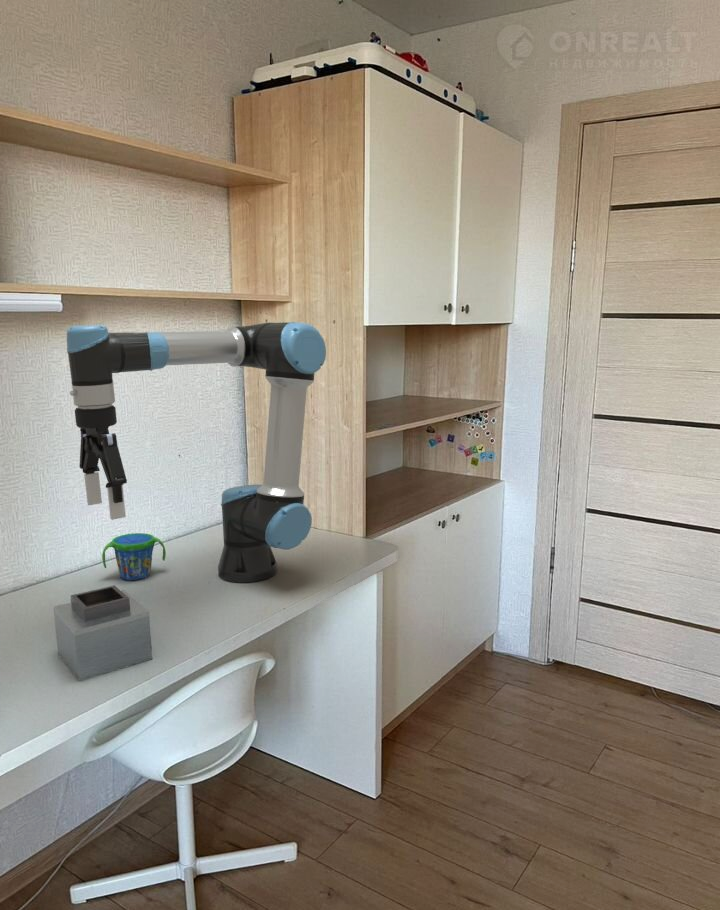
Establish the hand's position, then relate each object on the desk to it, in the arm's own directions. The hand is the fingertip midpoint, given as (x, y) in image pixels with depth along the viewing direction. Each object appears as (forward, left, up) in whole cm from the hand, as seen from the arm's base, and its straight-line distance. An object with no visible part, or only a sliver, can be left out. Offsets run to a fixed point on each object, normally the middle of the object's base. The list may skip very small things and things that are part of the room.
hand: (106, 511), depth 143 cm
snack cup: (-17, -34, -28) cm, 47 cm away
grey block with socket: (+4, +6, -28) cm, 29 cm away
